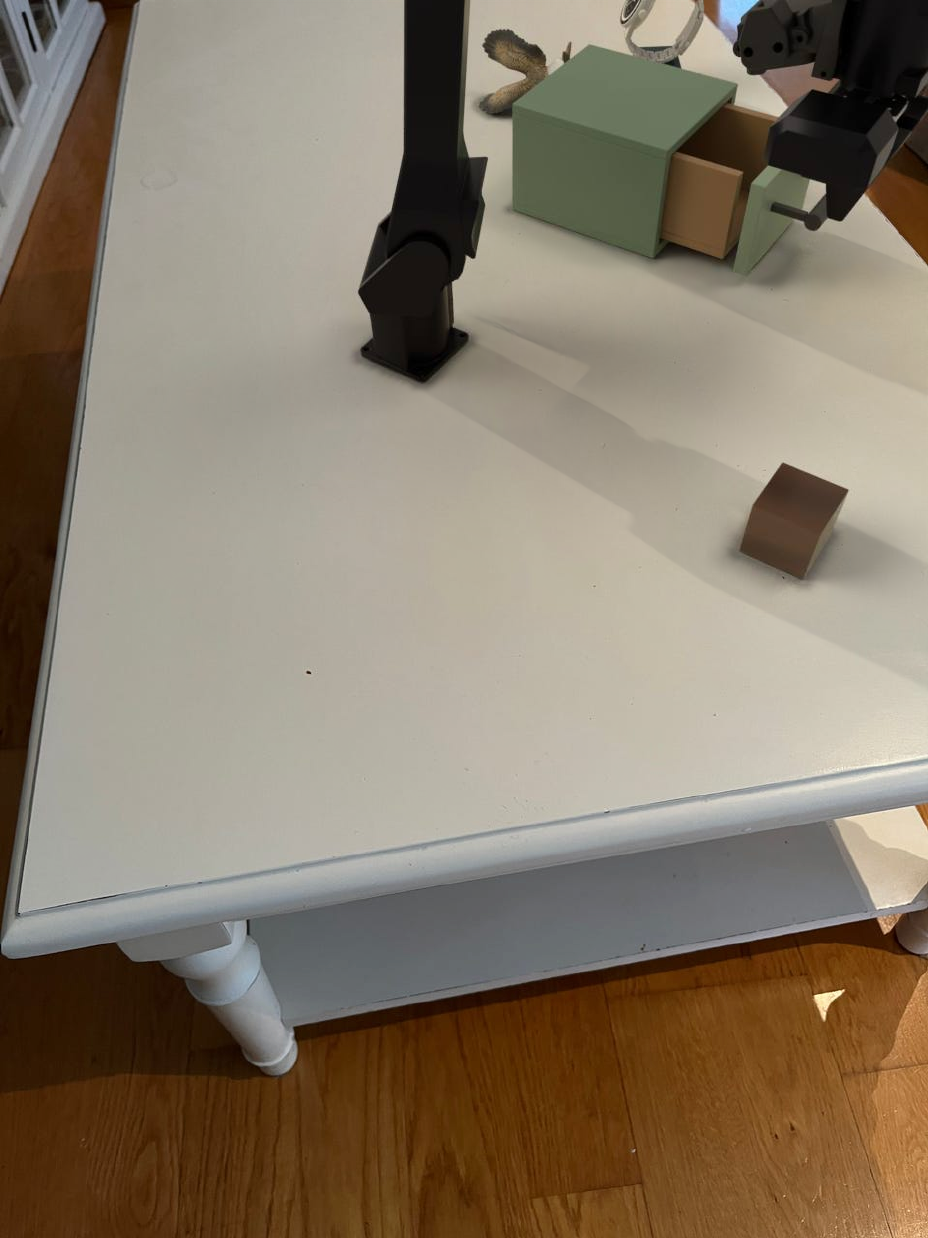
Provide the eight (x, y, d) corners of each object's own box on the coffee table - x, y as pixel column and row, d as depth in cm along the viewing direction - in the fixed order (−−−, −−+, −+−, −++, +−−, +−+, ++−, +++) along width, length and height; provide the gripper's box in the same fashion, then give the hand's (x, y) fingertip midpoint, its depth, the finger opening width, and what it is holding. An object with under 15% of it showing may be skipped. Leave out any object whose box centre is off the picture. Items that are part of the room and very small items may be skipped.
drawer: (848, 224, 84) (876, 135, 78) (794, 292, 79) (819, 203, 72) (665, 168, 90) (677, 81, 84) (603, 227, 85) (611, 140, 79)
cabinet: (718, 190, 89) (738, 83, 82) (653, 258, 84) (667, 150, 76) (582, 147, 95) (589, 43, 87) (511, 209, 89) (512, 103, 81)
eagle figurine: (562, 65, 102) (478, 53, 101) (580, 21, 95) (490, 7, 94) (558, 135, 102) (474, 124, 101) (575, 96, 95) (485, 83, 94)
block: (802, 580, 63) (820, 534, 59) (738, 551, 64) (752, 504, 61) (830, 536, 65) (849, 489, 61) (767, 508, 66) (782, 461, 63)
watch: (612, 78, 103) (621, -39, 94) (688, 76, 102) (705, -43, 94) (616, 105, 99) (627, -15, 91) (695, 102, 99) (713, -18, 90)
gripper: (836, -130, 59) (778, 124, 72) (703, -16, 51) (663, 251, 63) (1024, -98, 55) (927, 165, 68) (915, 31, 47) (827, 306, 59)
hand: (835, 217), depth 65 cm, fingers closed
